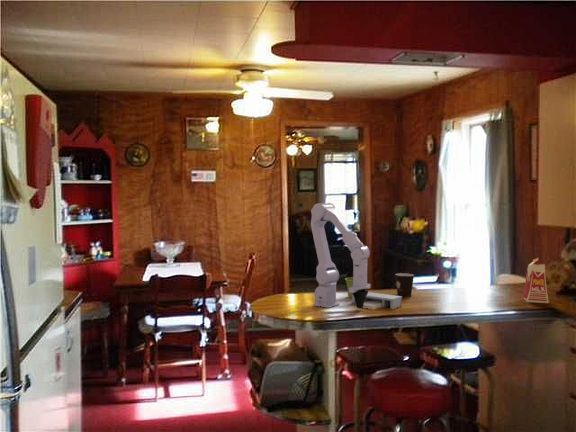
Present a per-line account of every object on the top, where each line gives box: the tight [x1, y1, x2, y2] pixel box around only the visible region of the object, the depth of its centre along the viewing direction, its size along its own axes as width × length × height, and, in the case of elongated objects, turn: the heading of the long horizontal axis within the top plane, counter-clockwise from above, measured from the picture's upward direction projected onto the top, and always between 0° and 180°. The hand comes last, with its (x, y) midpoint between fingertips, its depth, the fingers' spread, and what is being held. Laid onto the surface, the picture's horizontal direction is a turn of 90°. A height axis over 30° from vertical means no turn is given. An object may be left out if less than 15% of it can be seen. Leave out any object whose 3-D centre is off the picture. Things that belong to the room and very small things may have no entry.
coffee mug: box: [393, 272, 415, 298], centre depth 272 cm, size 12×9×10 cm
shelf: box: [351, 291, 403, 310], centre depth 249 cm, size 8×20×4 cm, turn 52°
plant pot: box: [344, 276, 353, 299], centre depth 266 cm, size 9×9×9 cm
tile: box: [362, 300, 383, 310], centre depth 246 cm, size 12×7×2 cm, turn 141°
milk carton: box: [523, 257, 549, 304], centre depth 261 cm, size 9×9×20 cm
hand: (359, 307), depth 238 cm, fingers closed
